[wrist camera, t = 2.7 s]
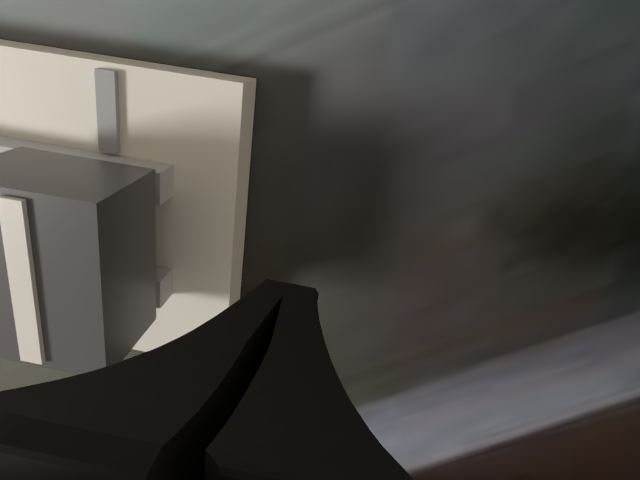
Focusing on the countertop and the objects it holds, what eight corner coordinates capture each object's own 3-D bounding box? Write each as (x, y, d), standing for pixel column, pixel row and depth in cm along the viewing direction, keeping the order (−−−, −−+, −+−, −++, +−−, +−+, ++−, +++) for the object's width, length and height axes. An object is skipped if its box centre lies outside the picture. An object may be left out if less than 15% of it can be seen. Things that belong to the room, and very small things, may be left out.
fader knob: (169, 160, 15) (92, 206, 11) (169, 303, 17) (103, 383, 13) (43, 139, 15) (-75, 176, 11) (58, 282, 17) (-39, 354, 13)
